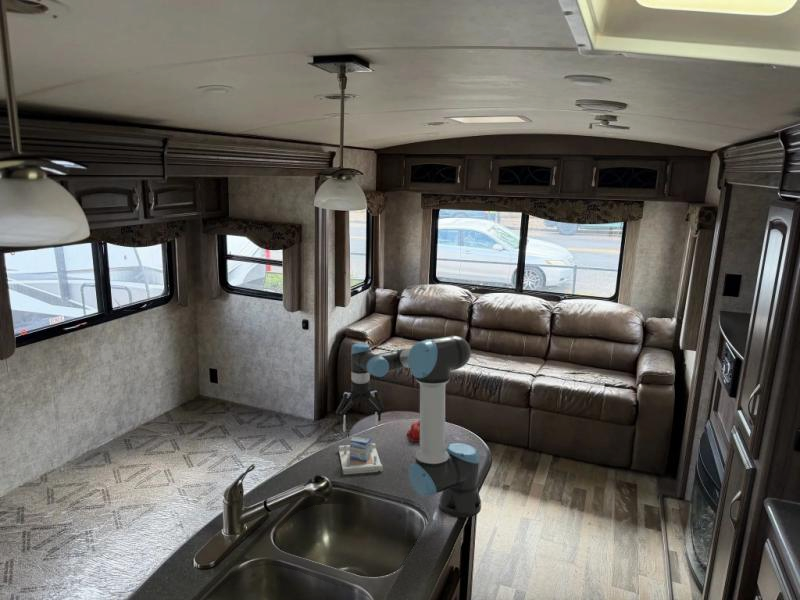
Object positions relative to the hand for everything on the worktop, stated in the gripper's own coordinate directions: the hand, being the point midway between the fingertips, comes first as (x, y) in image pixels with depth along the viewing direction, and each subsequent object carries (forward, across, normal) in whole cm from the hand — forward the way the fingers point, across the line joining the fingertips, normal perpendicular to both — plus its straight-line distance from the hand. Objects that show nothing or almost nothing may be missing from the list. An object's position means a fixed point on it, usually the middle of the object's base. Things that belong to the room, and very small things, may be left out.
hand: (360, 429), depth 230 cm
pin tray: (+14, 0, 0) cm, 14 cm away
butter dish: (+15, -30, -19) cm, 39 cm away
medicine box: (+14, 0, 0) cm, 14 cm away
